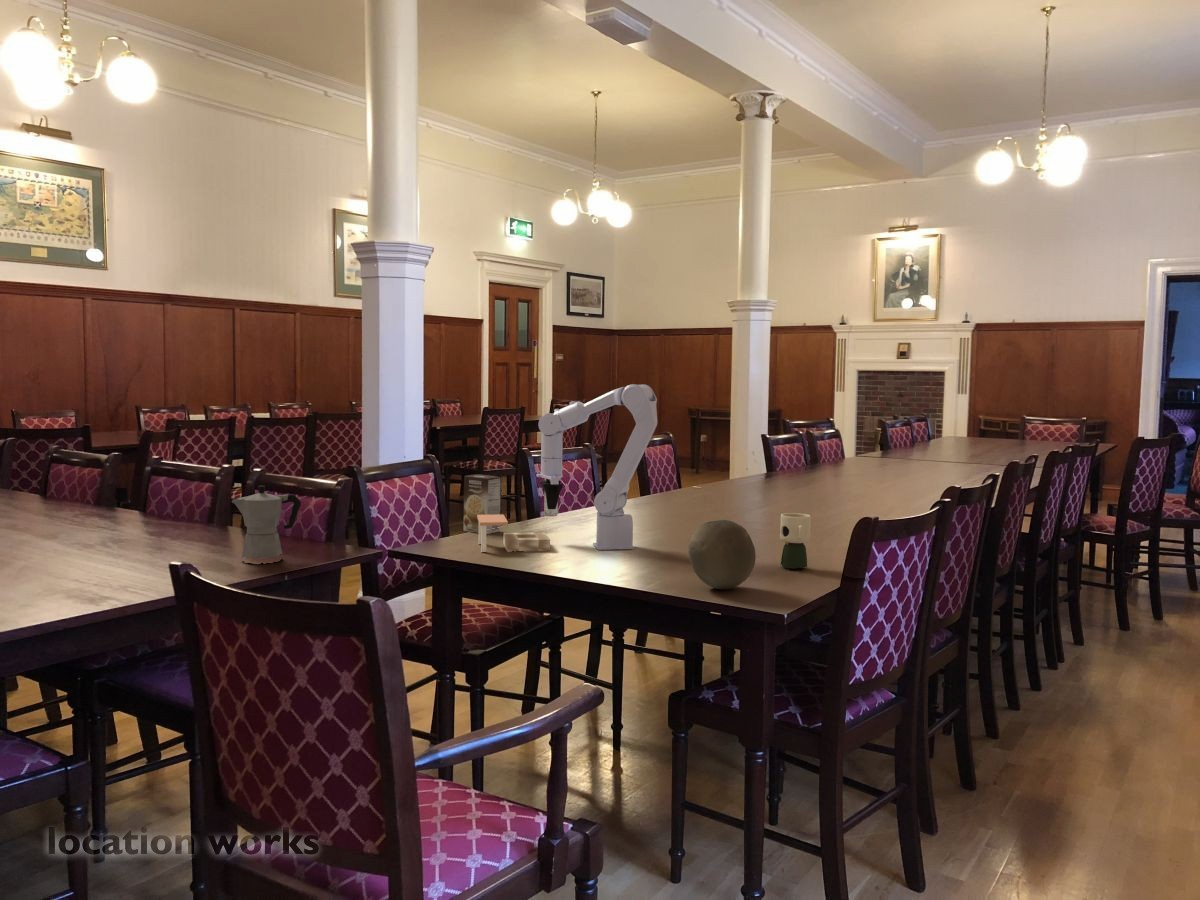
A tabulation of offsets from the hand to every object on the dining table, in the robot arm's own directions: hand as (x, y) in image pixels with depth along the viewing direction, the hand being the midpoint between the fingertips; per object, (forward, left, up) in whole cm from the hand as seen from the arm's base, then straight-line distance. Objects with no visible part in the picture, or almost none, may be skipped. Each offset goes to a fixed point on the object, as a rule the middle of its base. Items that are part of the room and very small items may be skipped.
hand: (550, 508), depth 246 cm
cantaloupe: (-29, +59, -10) cm, 66 cm away
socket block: (+7, +7, -9) cm, 14 cm away
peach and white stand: (+16, +7, -9) cm, 20 cm away
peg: (0, 0, -2) cm, 2 cm away
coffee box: (+17, -19, -10) cm, 28 cm away
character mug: (-54, +39, -10) cm, 67 cm away
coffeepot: (+70, +18, -10) cm, 73 cm away
